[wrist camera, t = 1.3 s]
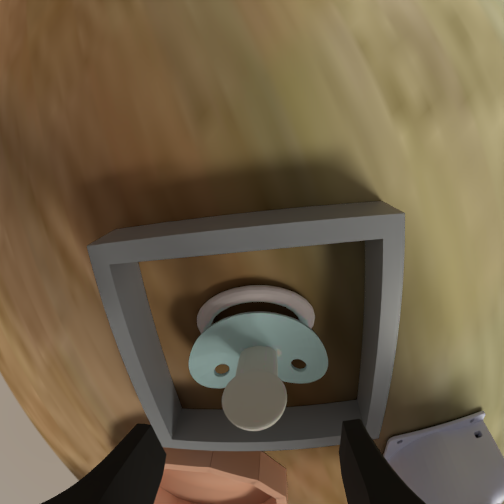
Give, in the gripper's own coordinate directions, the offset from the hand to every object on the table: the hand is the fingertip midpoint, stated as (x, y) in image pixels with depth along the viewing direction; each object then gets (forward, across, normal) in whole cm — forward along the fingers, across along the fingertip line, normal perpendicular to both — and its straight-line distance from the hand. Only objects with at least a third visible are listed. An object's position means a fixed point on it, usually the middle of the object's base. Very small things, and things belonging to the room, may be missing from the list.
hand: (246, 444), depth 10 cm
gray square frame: (+8, 0, 0) cm, 8 cm away
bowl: (+8, +6, +16) cm, 19 cm away
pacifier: (+8, 0, 0) cm, 8 cm away
